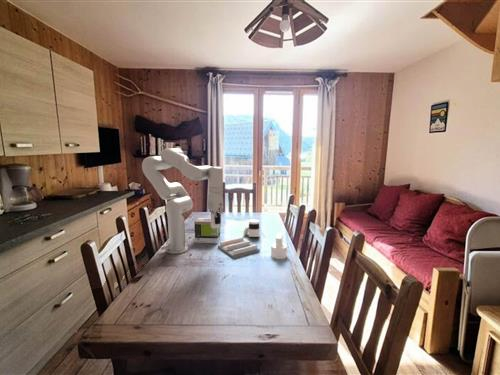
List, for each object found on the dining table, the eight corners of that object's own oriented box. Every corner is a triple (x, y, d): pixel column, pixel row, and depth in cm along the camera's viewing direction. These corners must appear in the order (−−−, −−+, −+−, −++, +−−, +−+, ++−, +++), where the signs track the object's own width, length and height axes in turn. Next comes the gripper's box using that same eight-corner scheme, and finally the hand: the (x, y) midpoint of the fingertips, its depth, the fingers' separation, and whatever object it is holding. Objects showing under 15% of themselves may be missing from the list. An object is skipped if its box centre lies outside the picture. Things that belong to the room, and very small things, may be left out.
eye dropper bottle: (211, 225, 143) (211, 204, 141) (221, 226, 143) (221, 205, 141) (210, 228, 139) (209, 206, 137) (220, 228, 139) (220, 207, 137)
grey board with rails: (233, 258, 144) (233, 252, 143) (218, 247, 159) (218, 241, 159) (259, 251, 154) (259, 245, 153) (242, 241, 169) (242, 236, 169)
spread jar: (259, 239, 174) (259, 223, 172) (242, 239, 174) (242, 222, 172) (259, 233, 186) (259, 218, 184) (243, 233, 186) (243, 217, 184)
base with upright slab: (286, 259, 144) (286, 239, 142) (270, 258, 145) (270, 237, 143) (287, 253, 152) (287, 233, 150) (272, 251, 154) (272, 232, 152)
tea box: (220, 238, 175) (220, 217, 173) (217, 244, 165) (217, 221, 163) (199, 237, 177) (198, 216, 174) (194, 243, 167) (193, 221, 165)
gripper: (202, 188, 142) (203, 220, 145) (216, 192, 129) (216, 228, 132) (214, 187, 147) (215, 218, 150) (229, 191, 133) (229, 225, 136)
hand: (215, 222), depth 141 cm, fingers closed on eye dropper bottle, 3 cm apart
